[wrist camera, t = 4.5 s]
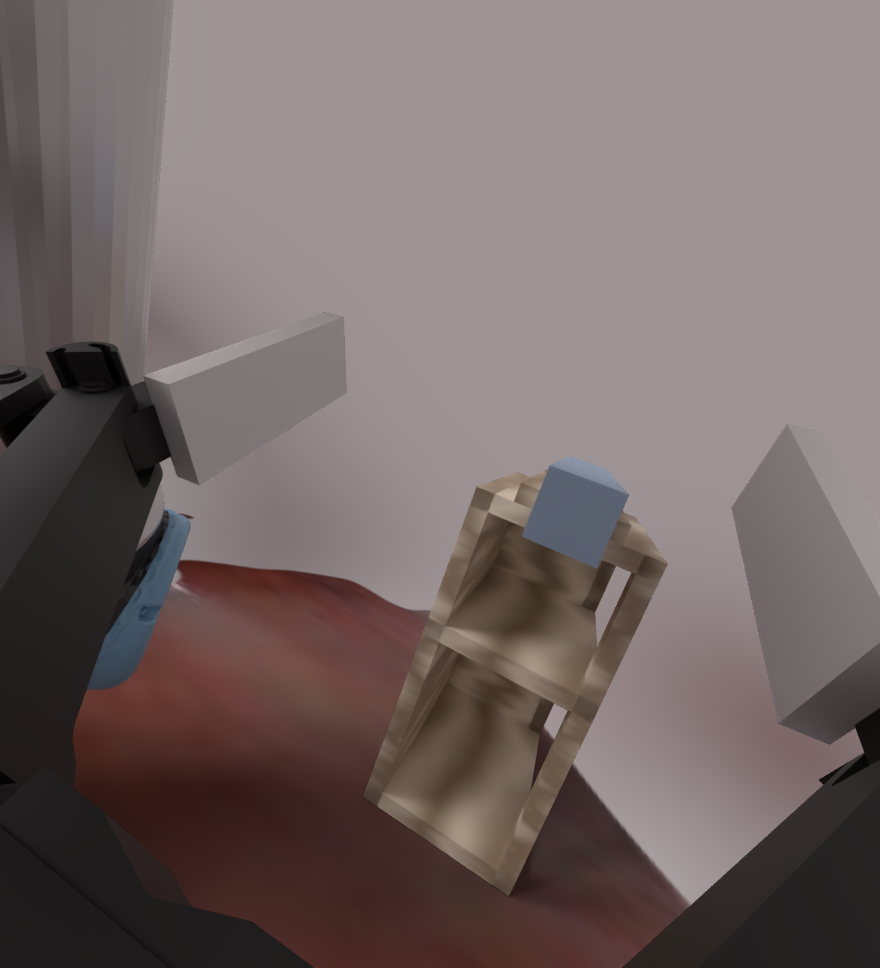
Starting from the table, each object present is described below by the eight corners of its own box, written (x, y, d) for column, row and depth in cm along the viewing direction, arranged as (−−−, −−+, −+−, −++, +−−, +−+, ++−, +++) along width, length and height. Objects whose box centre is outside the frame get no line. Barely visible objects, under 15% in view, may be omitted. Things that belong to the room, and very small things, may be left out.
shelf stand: (362, 796, 38) (483, 468, 32) (437, 681, 57) (521, 460, 51) (508, 896, 34) (677, 543, 28) (536, 736, 53) (641, 505, 47)
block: (521, 536, 22) (549, 465, 22) (555, 490, 47) (569, 456, 46) (596, 568, 21) (629, 494, 20) (591, 503, 46) (606, 469, 45)
